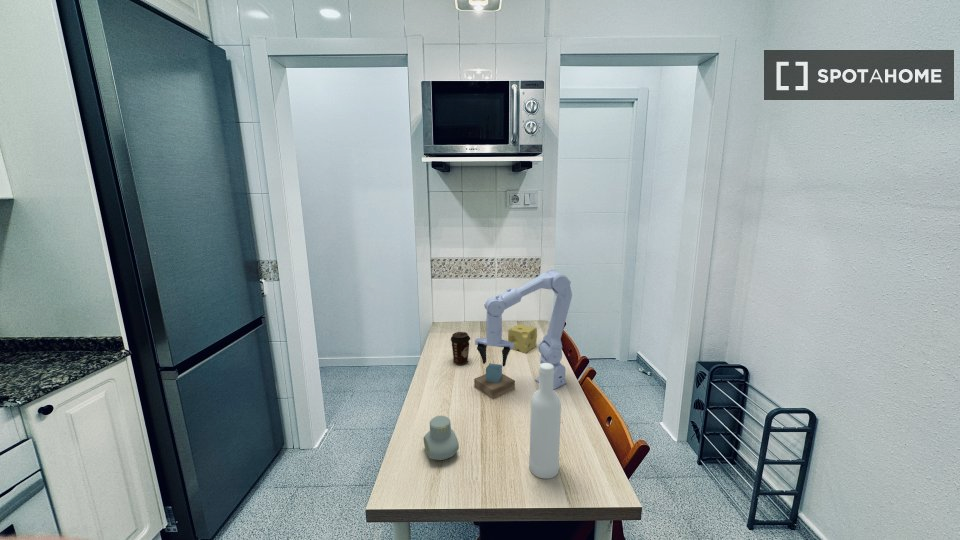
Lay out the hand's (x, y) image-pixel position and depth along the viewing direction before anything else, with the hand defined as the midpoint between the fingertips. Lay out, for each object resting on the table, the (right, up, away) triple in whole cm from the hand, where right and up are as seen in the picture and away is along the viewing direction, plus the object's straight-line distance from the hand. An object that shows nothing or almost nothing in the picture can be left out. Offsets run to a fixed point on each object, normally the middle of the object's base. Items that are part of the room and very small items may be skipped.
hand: (494, 363), depth 137 cm
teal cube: (0, -6, +2) cm, 6 cm away
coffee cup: (-14, -6, +24) cm, 28 cm away
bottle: (+12, -18, -39) cm, 45 cm away
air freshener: (-17, -17, -32) cm, 40 cm away
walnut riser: (0, -10, +2) cm, 10 cm away
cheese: (+15, -2, +39) cm, 42 cm away
